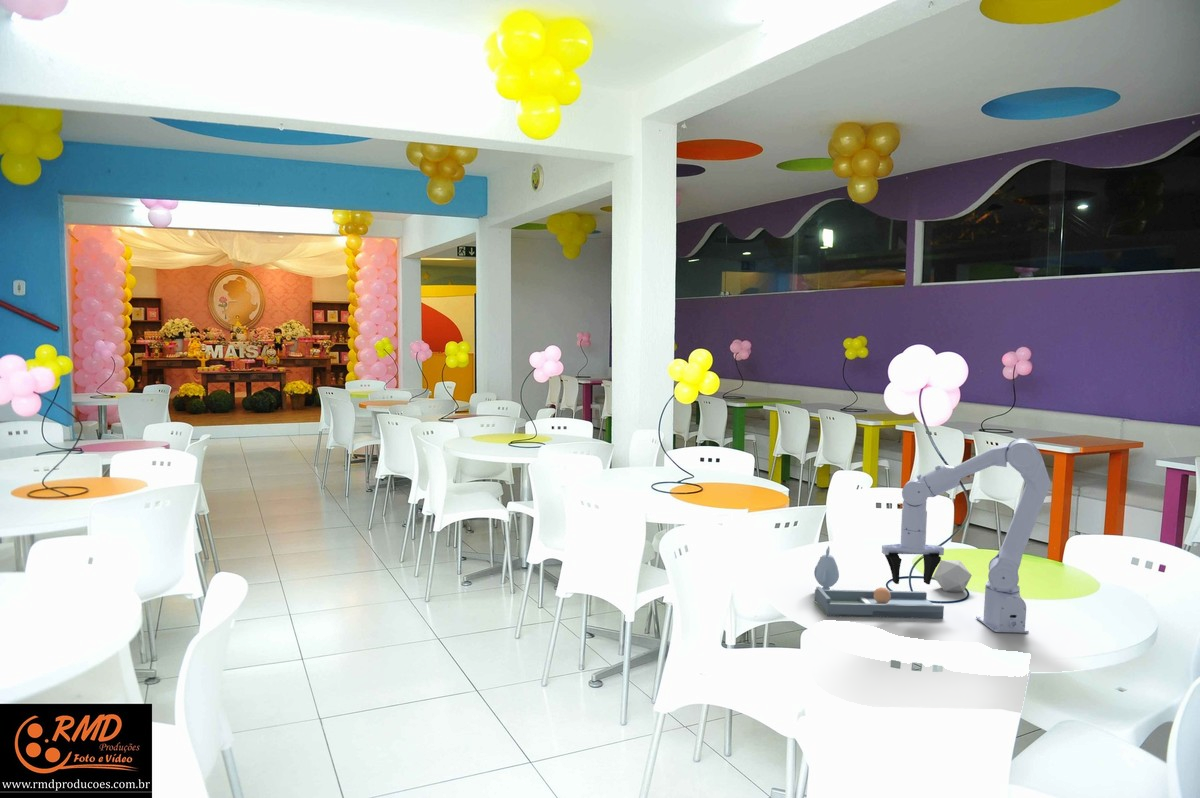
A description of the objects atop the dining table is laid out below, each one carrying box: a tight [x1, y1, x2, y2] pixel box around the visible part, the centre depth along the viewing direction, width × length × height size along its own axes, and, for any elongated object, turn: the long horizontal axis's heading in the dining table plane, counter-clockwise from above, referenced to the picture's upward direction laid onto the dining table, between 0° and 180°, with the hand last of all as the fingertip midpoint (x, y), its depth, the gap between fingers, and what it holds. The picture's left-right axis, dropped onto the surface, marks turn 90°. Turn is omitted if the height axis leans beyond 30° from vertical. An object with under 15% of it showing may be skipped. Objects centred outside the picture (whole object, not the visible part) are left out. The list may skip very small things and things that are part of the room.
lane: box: [814, 586, 945, 619], centre depth 198 cm, size 11×28×4 cm, turn 90°
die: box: [932, 559, 973, 592], centre depth 215 cm, size 8×9×10 cm
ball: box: [874, 587, 891, 604], centre depth 198 cm, size 4×4×4 cm
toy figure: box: [813, 545, 840, 590], centre depth 211 cm, size 11×6×12 cm, turn 156°
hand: (911, 583), depth 198 cm, fingers open, 7 cm apart
